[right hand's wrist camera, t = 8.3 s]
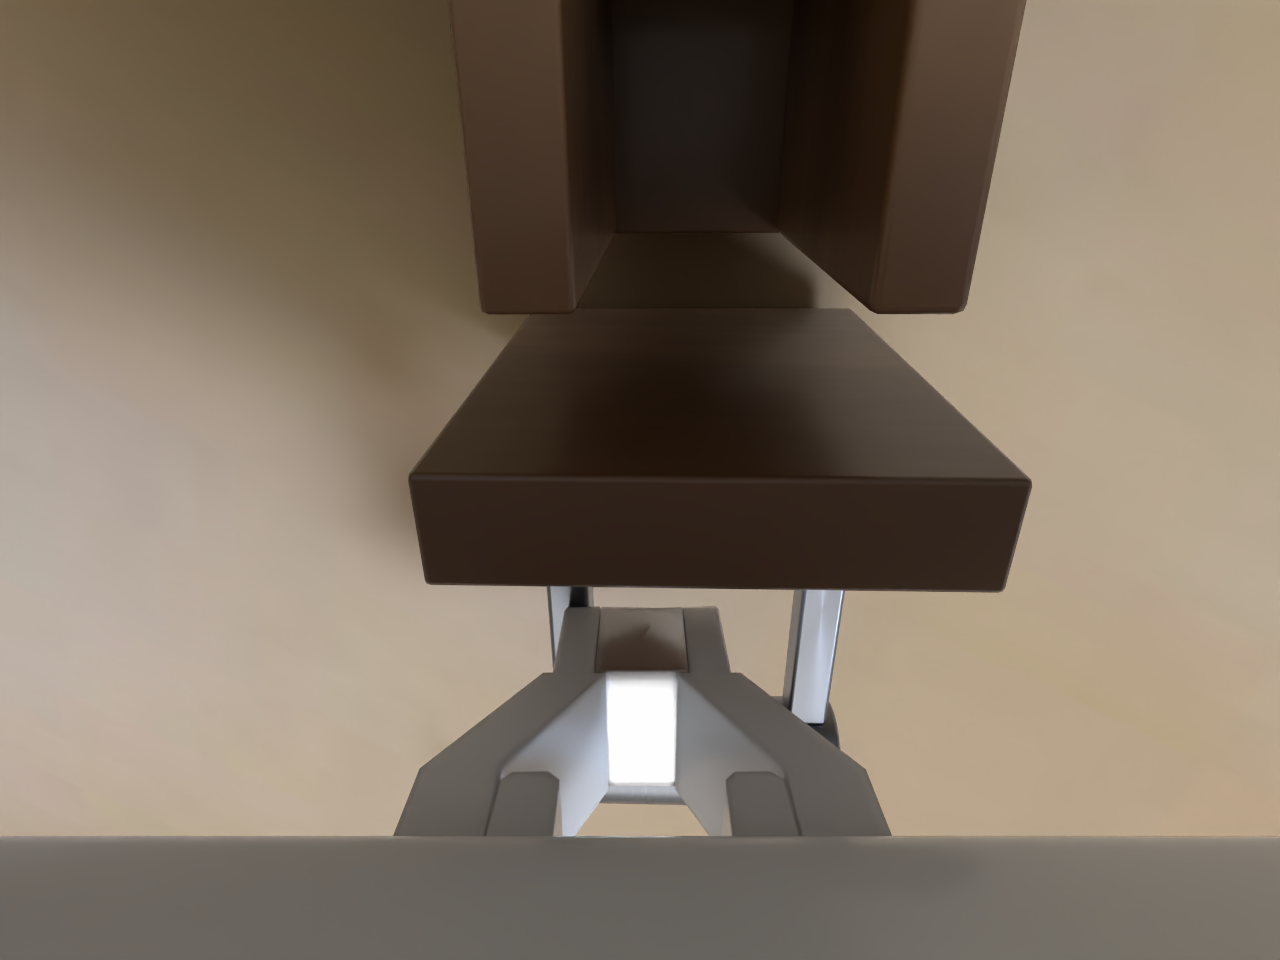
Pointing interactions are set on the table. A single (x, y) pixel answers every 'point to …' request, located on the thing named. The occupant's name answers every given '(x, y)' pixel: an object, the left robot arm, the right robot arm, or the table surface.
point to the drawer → (723, 338)
